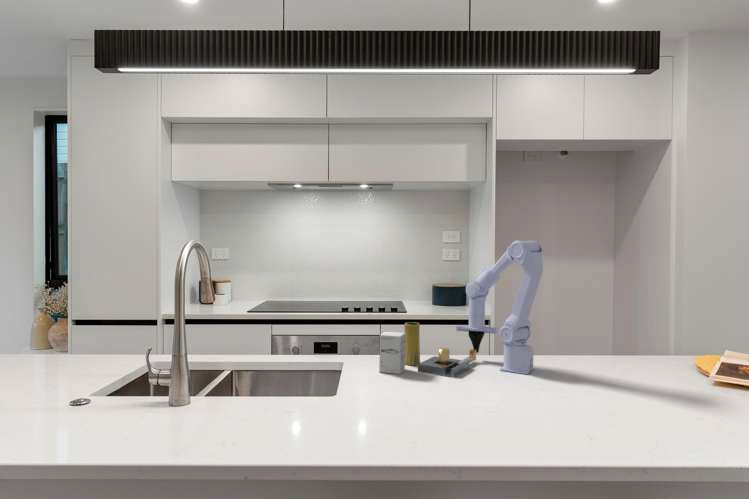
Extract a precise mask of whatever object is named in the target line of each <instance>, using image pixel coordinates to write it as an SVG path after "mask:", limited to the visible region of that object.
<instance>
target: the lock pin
mask: <svg viewBox="0 0 749 499" xmlns="http://www.w3.org/2000/svg"><path fill="white" fill-rule="evenodd" d="M460 360H461V361H459V362H458V363H457V366H458V365H460V364H461V363H463V362H465V361H469V364H470V363H472V362H474V361H476V360H477V353H476V350H475V349H473V348H471V349H469V356H467V357H465V358H464V359H460Z"/></svg>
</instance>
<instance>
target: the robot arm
mask: <svg viewBox="0 0 749 499" xmlns="http://www.w3.org/2000/svg"><path fill="white" fill-rule="evenodd" d="M510 244H511V245H509V246H508V247H507V248H506V251H505V252H504V253H503V255H502V256H501V257H500V258H499V259H498V260H497V262H496V263H495V264H494V265H493V266H492V267H487V268H484V269H483V270H482V273H481V274H479V276H477V277H476V278H475V279H474V281H470V282H468V283H467V285H466V286H465V294H466V295H467V297H468V325H466V324H465V325H460V324H457V325H456V326H455V327H456V332H468V337H469V339H470V341H471V345H472V347H473V348H472V349H475V350H476V354H478V353H479V352H480V346H481V343H482V340H483V338H484V336H485V334H494V335H498V327H492V326H486V321H485V320H486V317H485V316H486V301H487V296H488V295H489V292H490V289H491V288H492V287H493V286H494V285H495V284H497V282H499V281H500V275H502V273H503V272H504V271H505V270H506V269H507V268H509V267H510V266H511V265H512V264H513V263H514V262H517V264H518V265H519V266H521V268H522V270H523V272H524V273H523V275H522V278H521V282H520V286H519V288H518V292H517V295H516V298H515V302H514V305H513V308H512V312H511V314H510V315H509V316H508V317H507V318H506V320H505V321H504V324H503V325H502V326H501V328H500V329H499V338H500V339H501V340H500V341H502V344H503V366H502V367H500V368H499V371H504V372H511V373H517V374H524V375H529V373H531V372H532V371H533V370H534V346H532V345H528V340H529V338H530V337H531V325H532V322H531V321H530V320H529V316H530V313H531V310H532V308H533V304H534V300H535V297H536V294H537V292H538V288H539V284H540V282H541V278H542V275H543V273H544V272H543V271H544V266H543V254H544V249H543V247H542V246H541V244H540V243H539V241H537V240H514V241H513V242H512V243H510Z"/></svg>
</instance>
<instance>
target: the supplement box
mask: <svg viewBox="0 0 749 499" xmlns="http://www.w3.org/2000/svg"><path fill="white" fill-rule="evenodd" d="M405 337H406V333H405V332H402V331H401V332H400V331H384V332H382V333H381V334H380V335H379V360H378V361H379V363H378V364H379V368H378V369H379V370H378V372H379V373H386V374H396V375H401V374H402V373H403V371H405V368H406V365H405Z"/></svg>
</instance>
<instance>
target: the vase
mask: <svg viewBox="0 0 749 499" xmlns="http://www.w3.org/2000/svg"><path fill="white" fill-rule="evenodd" d="M404 333H406V337H405V366H412V367H414V366H418V364H419V363H421V350H420V349H421V347H420V346H421V344H420V341H421V340H420V322H413V321H411V322H410V321H409V322H405V323H404Z"/></svg>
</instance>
